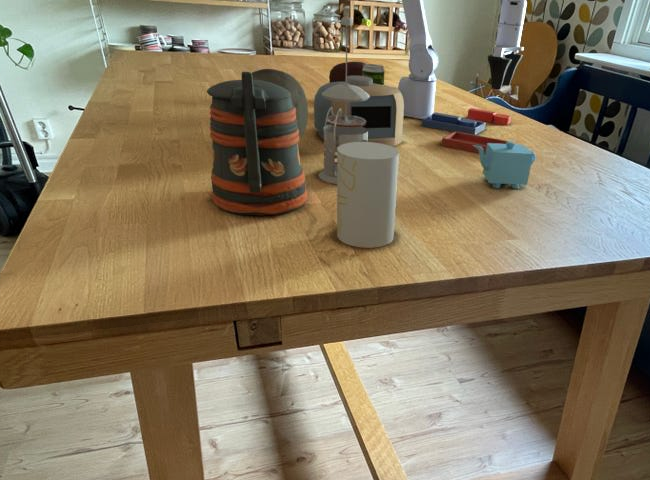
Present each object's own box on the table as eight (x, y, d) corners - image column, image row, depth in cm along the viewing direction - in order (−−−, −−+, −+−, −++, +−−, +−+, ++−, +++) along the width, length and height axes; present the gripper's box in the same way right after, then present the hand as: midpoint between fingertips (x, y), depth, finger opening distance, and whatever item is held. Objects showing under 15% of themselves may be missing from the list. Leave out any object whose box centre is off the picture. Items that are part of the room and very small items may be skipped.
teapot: (470, 187, 101) (476, 144, 96) (464, 176, 106) (470, 135, 101) (533, 190, 102) (542, 148, 97) (525, 179, 107) (533, 139, 102)
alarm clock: (331, 151, 114) (331, 86, 107) (304, 127, 128) (302, 69, 121) (414, 147, 121) (419, 86, 114) (380, 124, 135) (382, 69, 128)
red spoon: (465, 118, 147) (466, 110, 146) (471, 116, 150) (472, 107, 149) (506, 126, 144) (508, 117, 142) (511, 123, 147) (512, 114, 146)
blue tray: (421, 125, 137) (422, 119, 136) (433, 120, 143) (434, 113, 142) (474, 135, 133) (475, 128, 132) (484, 129, 139) (485, 122, 138)
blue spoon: (429, 123, 138) (430, 114, 137) (436, 120, 141) (436, 111, 140) (472, 131, 134) (473, 121, 133) (478, 128, 138) (479, 118, 136)
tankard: (318, 227, 81) (315, 76, 69) (213, 232, 77) (191, 72, 65) (300, 184, 95) (296, 54, 84) (212, 186, 92) (194, 50, 80)
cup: (337, 224, 82) (337, 140, 75) (391, 225, 83) (396, 143, 76) (336, 246, 76) (337, 157, 69) (395, 248, 77) (401, 160, 70)
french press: (379, 173, 104) (386, 17, 89) (355, 191, 95) (359, 21, 80) (332, 164, 106) (331, 11, 91) (304, 181, 97) (298, 15, 82)
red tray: (441, 145, 123) (442, 138, 122) (454, 138, 129) (454, 131, 128) (501, 157, 119) (502, 149, 118) (511, 149, 125) (512, 141, 124)
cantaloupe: (223, 151, 108) (213, 66, 100) (281, 141, 117) (277, 62, 108) (266, 169, 101) (260, 79, 92) (325, 157, 110) (324, 73, 101)
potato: (334, 97, 159) (333, 56, 153) (379, 101, 158) (380, 61, 152) (324, 104, 150) (323, 61, 144) (372, 109, 149) (373, 66, 143)
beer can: (386, 120, 140) (389, 67, 133) (369, 122, 137) (371, 68, 130) (373, 115, 143) (375, 63, 136) (356, 117, 140) (358, 64, 133)
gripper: (518, 27, 124) (507, 93, 132) (535, 24, 135) (523, 85, 143) (489, 23, 126) (479, 88, 134) (507, 21, 137) (497, 81, 145)
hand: (500, 87), depth 138 cm, fingers open, 7 cm apart
